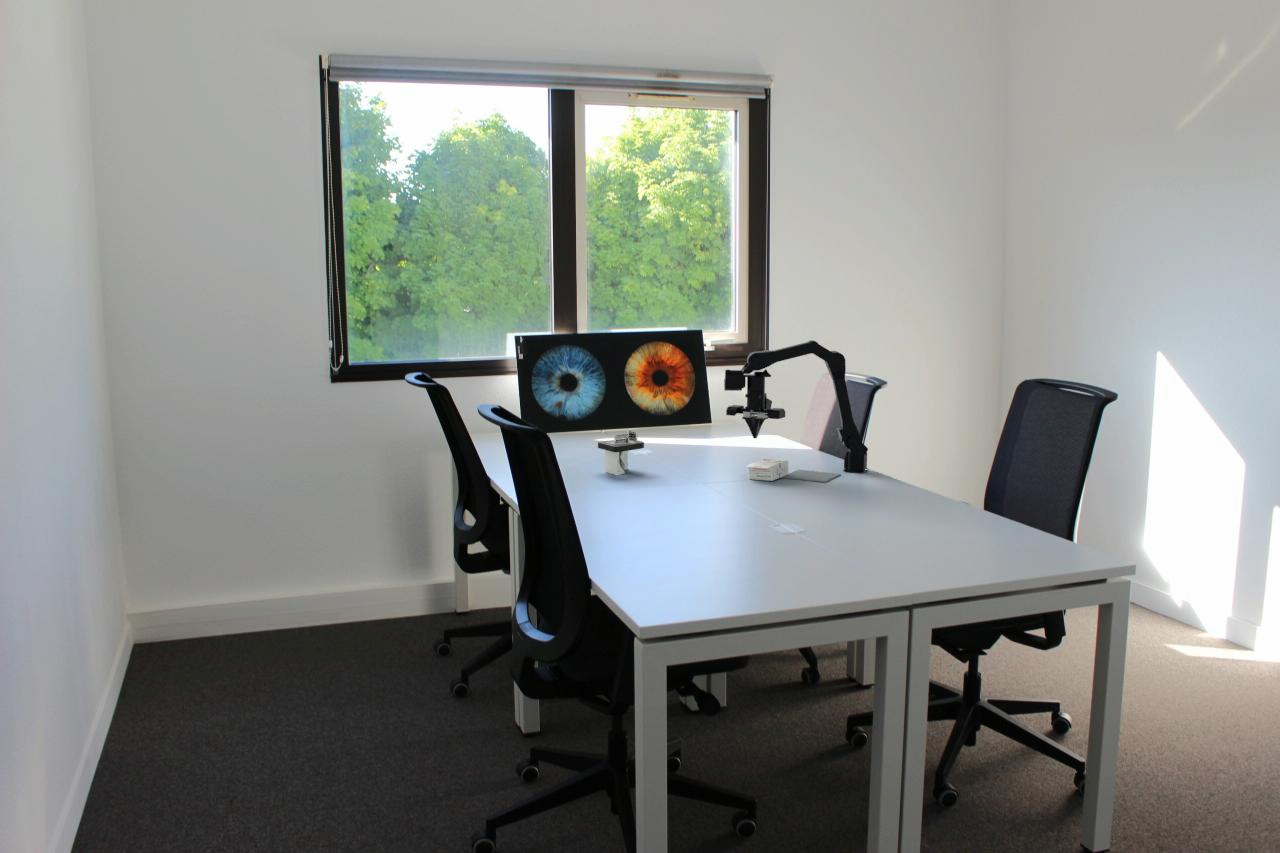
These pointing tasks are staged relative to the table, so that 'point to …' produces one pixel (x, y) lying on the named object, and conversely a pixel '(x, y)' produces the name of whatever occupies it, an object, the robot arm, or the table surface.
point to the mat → (811, 476)
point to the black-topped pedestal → (619, 452)
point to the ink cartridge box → (768, 469)
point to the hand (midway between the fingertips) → (755, 438)
